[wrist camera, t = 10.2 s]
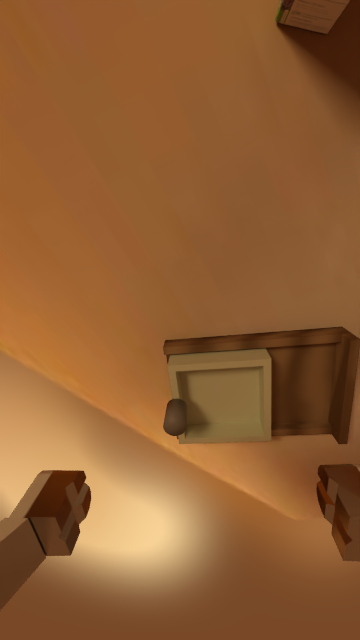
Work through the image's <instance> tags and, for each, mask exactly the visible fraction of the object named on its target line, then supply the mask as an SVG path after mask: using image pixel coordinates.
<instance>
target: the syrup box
mask: <svg viewBox="0 0 360 640" xmlns="http://www.w3.org/2000/svg"><path fill="white" fill-rule="evenodd" d="M349 1H350V0H281V1H280V5H279V9H278V13H277V17H276V22H277V23H281V24H285V25H289V26H294V27H297V28H302V29H306V30H310V31H315V32H320V33H324V34H328V33H329V31H330V30H331V28H332V27H333V25H334V24H335V22H336V21H337V19H338V18H339V16H340V15H341V13H342V12H343V10H344V9H345V7H346V6H347V4H348V3H349Z"/></svg>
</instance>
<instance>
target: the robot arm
mask: <svg viewBox="0 0 360 640" xmlns="http://www.w3.org/2000/svg"><path fill="white" fill-rule="evenodd" d="M318 475H319V477H320V479H321V480H320V481H319V482H318V483H317V497H318V502H319V505H320V508H321V510H322V513H323V515H324V518H325V519H327V520H328V521H329V522H330V523H331V524H332V525H333V526H332V536H333V538H334V540H335V543H336V545H337V547H338V549H339V552H340V554H341V556H342V558H343V560H344V561H360V464H353V465H352V464H341V465H320V466H319V468H318ZM85 479H86V475H85V473H84V471H62V470H52V471H42V472H40V473H39V474H38V475H37V477H36V478H35V480H34V481H33V483H32V484H31V486H30V487H29V488H28V490H27V491H26V493H25V495H24V496H23V498H22V499H21V500H20V502H19V503H18V505H17V506H16V508H15V510H14V511H13V512H12V514H11V515H10V517H9V518H4V519H3V520H2V521H1V522H0V610H1V609H2V608H3V607H4V606H5V605H6V603H7V602H8V601H9V600H10V599H11V598H12V596H13V595H14V594H15V593H16V592H17V591H18V589H19V588H20V587H21V586H22V585H23V584H24V583H25V581H26V580H27V579H28V578H29V577H30V576H31V574H32V573H33V572H34V571H35V570H36V569H37V568H38V566H39V565H40V564H41V563H42V562H43V561H44V559H45V558H46V556H65V555H71V554H72V551H73V549H74V546H75V544H76V541H77V538H78V536H79V534H80V529H79V524H80V523H81V522H82V521H83V520H84V519H85V518H86V516H87V513H88V510H89V508H90V502H91V491H90V487H89V486H88V485H87V484H86V483H84V482H85Z"/></svg>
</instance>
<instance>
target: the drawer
mask: <svg viewBox="0 0 360 640" xmlns="http://www.w3.org/2000/svg"><path fill="white" fill-rule="evenodd" d="M168 372H169V379H170V385H171V392H172V400H170V401H169V402H168V404H167V409H166V414H165V419H164V425H163V428H164V430H165V432H166V433H168V434H169V435H172V436H178V438H179V444H193V443H225V442H257V441H271V357H270V355H269V354H268V352H267V350H266V348H252V349H238V350H224V351H210V352H196V353H182V354H170V357H169V362H168Z"/></svg>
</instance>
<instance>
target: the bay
mask: <svg viewBox="0 0 360 640" xmlns="http://www.w3.org/2000/svg"><path fill="white" fill-rule="evenodd" d="M252 348H266V350H267V352H268V354H269V355H270V357H271V436H285V435H315V434H332V435H333V436H334V438H335V439H336V441H337V442H338V444H347V440H348V433H349V425H350V417H351V410H352V402H353V394H354V387H355V379H356V371H357V364H358V356H359V348H360V339H359V338H358V337H356V336H355V335H353V334H352V333H350V332H349V331H347V330H346V329H345V328H343V327H332V328H320V329H307V330H294V331H281V332H268V333H255V334H242V335H229V336H216V337H203V338H190V339H178V340H165V343H164V346H163V350H164V355H166V356H167V363H168V362H169V357H170V354H182V353H196V352H210V351H224V350H238V349H252ZM177 439H179V438H178V436H177Z"/></svg>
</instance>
